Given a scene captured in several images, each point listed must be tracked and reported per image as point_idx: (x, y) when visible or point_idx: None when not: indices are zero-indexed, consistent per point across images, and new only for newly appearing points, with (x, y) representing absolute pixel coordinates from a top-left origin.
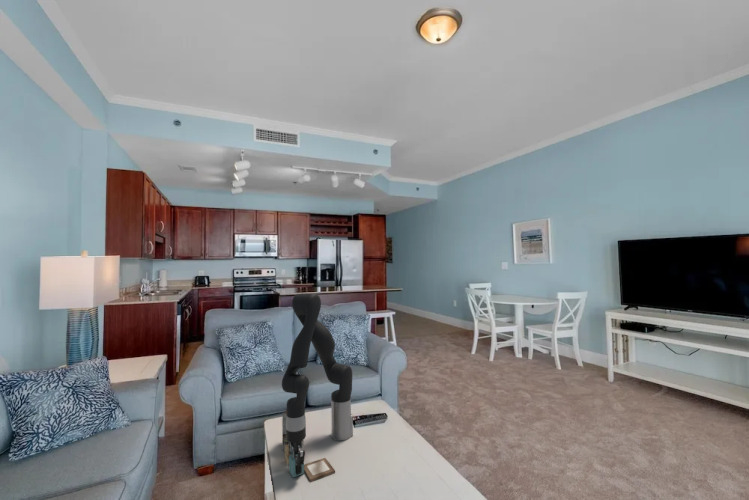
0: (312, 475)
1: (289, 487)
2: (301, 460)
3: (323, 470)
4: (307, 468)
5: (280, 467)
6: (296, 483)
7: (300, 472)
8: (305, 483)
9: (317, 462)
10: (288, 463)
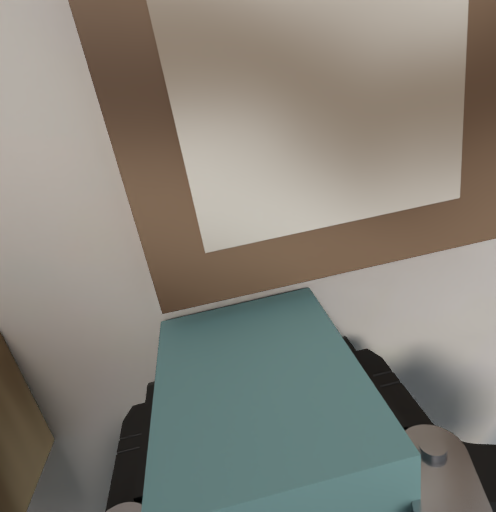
0: (450, 202)
1: (435, 416)
2: (475, 486)
3: (440, 6)
4: (265, 248)
5: (74, 501)
6: (415, 361)
7: (373, 358)
8: (466, 280)
9: (164, 59)
10: (44, 454)
